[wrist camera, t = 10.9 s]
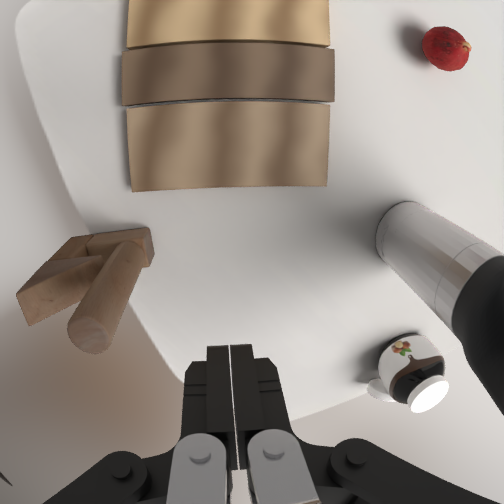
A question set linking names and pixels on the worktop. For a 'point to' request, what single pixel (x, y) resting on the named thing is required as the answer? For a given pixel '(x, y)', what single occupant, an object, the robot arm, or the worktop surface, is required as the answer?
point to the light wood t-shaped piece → (89, 284)
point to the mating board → (227, 73)
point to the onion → (446, 48)
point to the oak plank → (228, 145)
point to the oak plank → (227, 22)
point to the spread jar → (410, 373)
